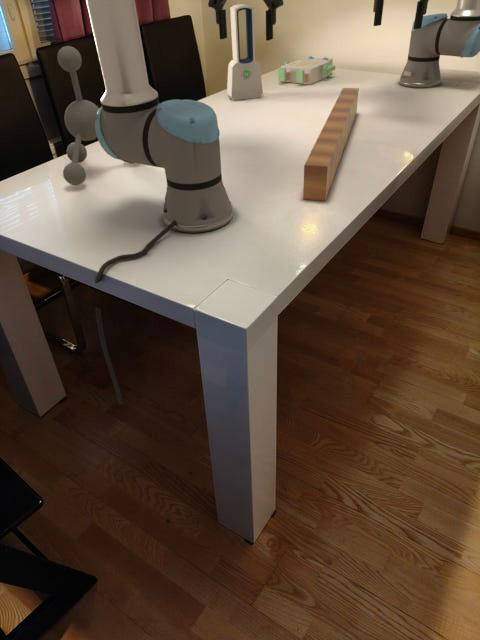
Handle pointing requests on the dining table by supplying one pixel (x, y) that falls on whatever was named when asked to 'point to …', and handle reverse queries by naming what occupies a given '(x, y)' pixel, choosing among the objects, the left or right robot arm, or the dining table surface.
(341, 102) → the post
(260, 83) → the electronic device
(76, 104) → the molecular model
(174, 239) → the dining table surface
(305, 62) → the decorative block
